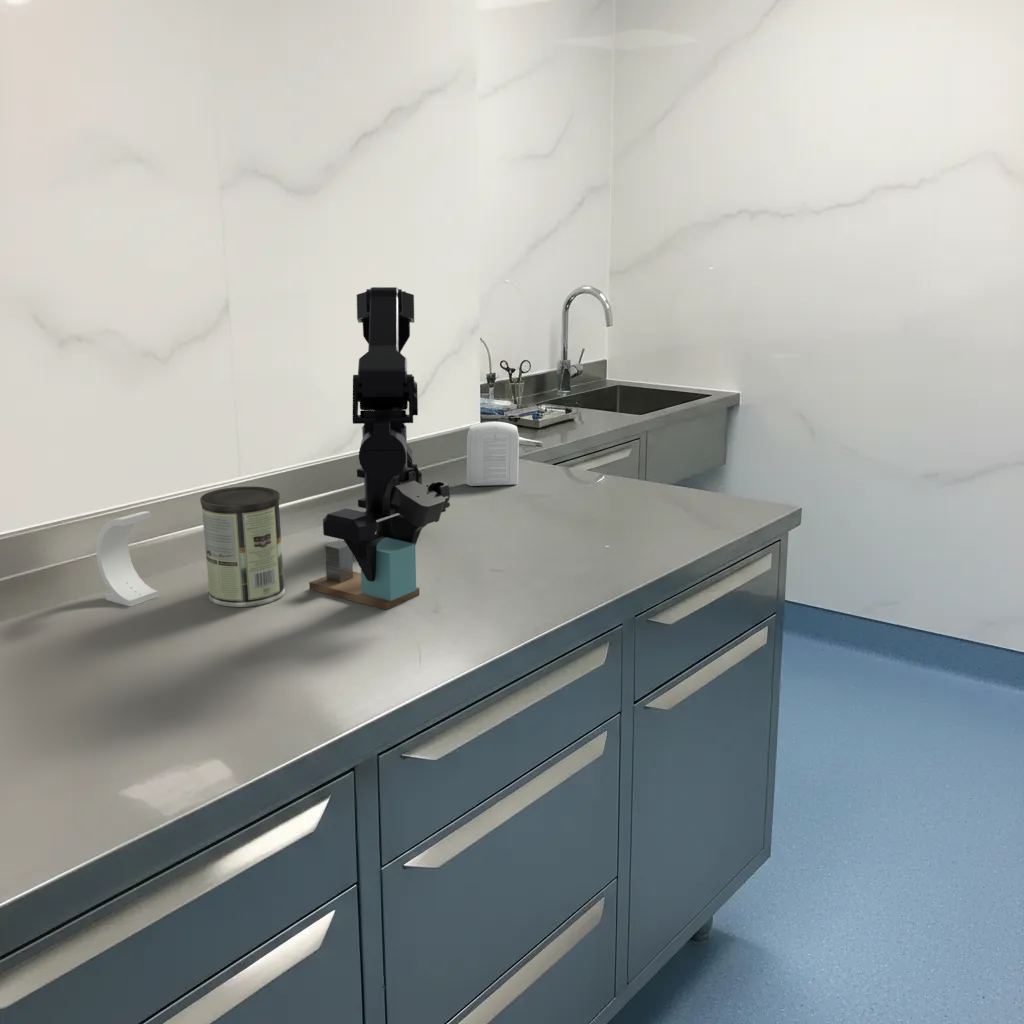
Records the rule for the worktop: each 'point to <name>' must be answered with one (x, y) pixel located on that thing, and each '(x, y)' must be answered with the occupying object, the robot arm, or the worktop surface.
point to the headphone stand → (121, 562)
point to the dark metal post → (338, 562)
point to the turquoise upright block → (392, 570)
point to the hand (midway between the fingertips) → (388, 574)
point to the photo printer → (492, 454)
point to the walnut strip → (356, 592)
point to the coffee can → (243, 546)
